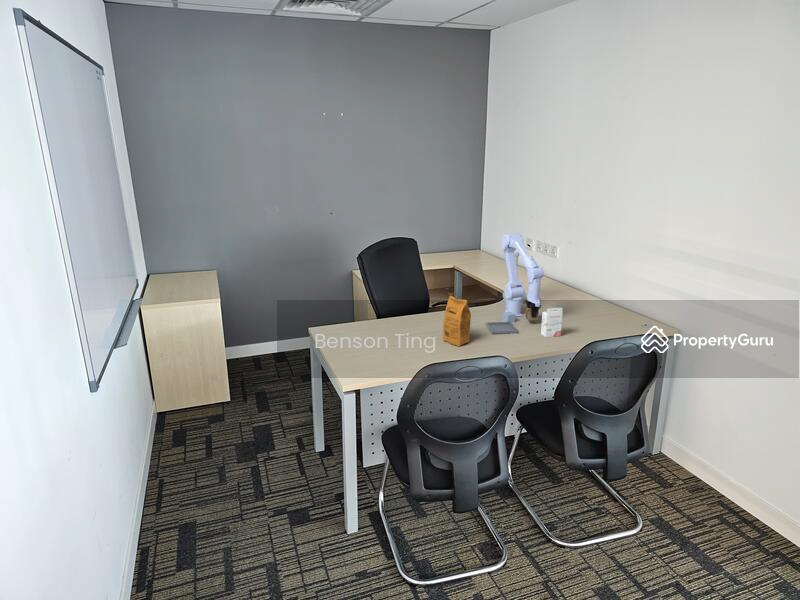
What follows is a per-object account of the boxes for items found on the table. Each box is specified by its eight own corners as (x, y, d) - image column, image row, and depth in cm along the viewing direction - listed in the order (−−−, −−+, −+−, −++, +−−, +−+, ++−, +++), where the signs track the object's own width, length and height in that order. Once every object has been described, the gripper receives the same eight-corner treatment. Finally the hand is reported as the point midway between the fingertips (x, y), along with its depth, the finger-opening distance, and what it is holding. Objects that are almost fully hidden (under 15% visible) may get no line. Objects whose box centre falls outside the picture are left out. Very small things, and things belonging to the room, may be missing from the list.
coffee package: (454, 335, 258) (455, 292, 252) (472, 342, 249) (474, 298, 242) (439, 340, 252) (440, 296, 246) (457, 348, 243) (459, 302, 236)
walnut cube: (525, 317, 276) (526, 308, 274) (534, 316, 276) (535, 307, 275) (528, 320, 271) (529, 311, 270) (537, 320, 271) (538, 310, 270)
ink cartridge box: (556, 332, 262) (558, 304, 257) (561, 336, 257) (563, 307, 253) (540, 333, 260) (542, 305, 256) (544, 337, 255) (547, 308, 251)
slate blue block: (502, 320, 278) (503, 312, 277) (509, 319, 280) (510, 311, 279) (507, 323, 274) (508, 315, 273) (514, 322, 276) (515, 314, 275)
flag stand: (527, 305, 303) (530, 254, 294) (504, 305, 303) (507, 254, 294) (522, 298, 315) (526, 249, 306) (500, 298, 315) (503, 249, 306)
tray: (485, 325, 272) (485, 322, 271) (510, 324, 273) (510, 321, 272) (491, 334, 259) (492, 331, 259) (517, 333, 261) (517, 330, 260)
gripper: (546, 294, 262) (544, 320, 267) (536, 286, 276) (534, 310, 280) (532, 294, 262) (530, 320, 266) (523, 286, 275) (521, 310, 280)
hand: (531, 315), depth 273 cm, fingers closed on walnut cube, 5 cm apart
